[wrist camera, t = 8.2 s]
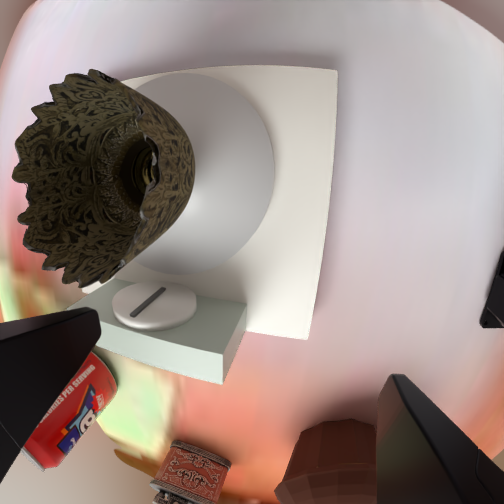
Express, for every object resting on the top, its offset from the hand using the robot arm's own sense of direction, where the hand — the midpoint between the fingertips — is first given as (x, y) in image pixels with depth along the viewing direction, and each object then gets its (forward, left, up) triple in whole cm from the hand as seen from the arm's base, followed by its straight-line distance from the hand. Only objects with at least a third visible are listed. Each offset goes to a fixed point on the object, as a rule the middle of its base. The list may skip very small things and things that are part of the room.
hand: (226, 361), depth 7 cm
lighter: (+6, +28, -12) cm, 31 cm away
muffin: (-9, +20, -12) cm, 25 cm away
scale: (+6, -3, -12) cm, 13 cm away
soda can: (+19, +17, -12) cm, 28 cm away
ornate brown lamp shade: (+6, -5, -9) cm, 11 cm away
